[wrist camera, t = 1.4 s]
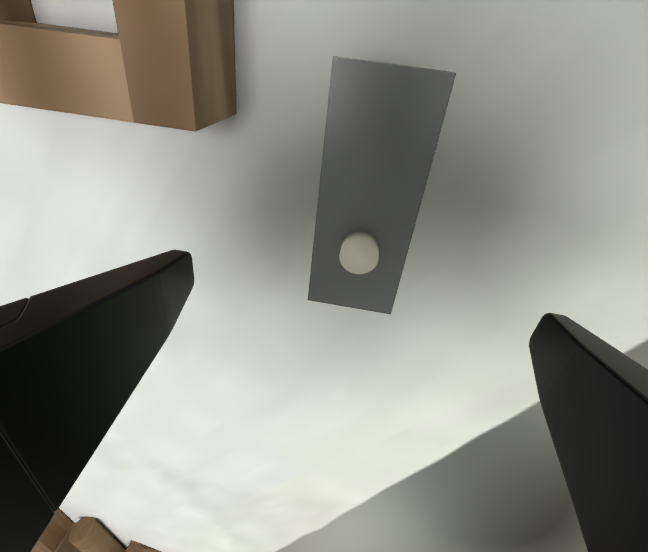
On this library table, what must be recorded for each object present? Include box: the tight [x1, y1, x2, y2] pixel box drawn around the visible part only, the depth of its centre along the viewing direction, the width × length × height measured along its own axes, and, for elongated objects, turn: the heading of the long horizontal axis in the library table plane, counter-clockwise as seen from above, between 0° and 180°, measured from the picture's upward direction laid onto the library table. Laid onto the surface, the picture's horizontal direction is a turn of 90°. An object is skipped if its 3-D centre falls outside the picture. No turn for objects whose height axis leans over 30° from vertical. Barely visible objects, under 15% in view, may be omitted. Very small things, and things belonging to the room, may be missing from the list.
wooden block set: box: [31, 509, 161, 552], centre depth 47 cm, size 17×6×18 cm
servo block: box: [308, 57, 456, 314], centre depth 16 cm, size 4×10×6 cm, turn 174°
